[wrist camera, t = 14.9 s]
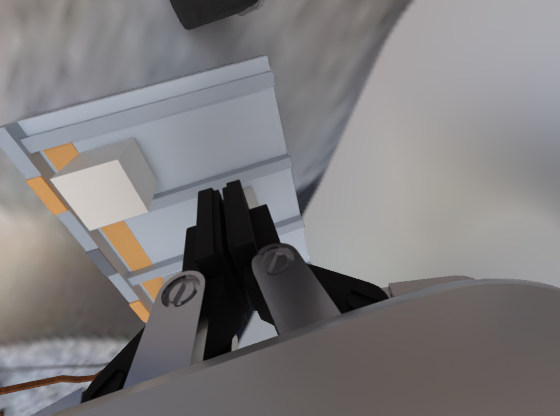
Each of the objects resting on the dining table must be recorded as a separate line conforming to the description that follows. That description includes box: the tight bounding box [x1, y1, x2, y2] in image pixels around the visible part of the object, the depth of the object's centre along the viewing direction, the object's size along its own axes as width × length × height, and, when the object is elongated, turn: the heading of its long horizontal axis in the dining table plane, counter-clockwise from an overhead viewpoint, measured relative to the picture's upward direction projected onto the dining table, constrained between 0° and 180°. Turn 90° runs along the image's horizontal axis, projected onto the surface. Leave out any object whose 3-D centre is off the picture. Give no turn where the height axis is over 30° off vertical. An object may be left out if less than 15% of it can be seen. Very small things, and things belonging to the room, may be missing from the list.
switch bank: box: [0, 55, 312, 323], centre depth 26 cm, size 19×24×4 cm
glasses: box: [0, 370, 102, 416], centre depth 33 cm, size 13×13×5 cm
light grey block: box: [50, 137, 158, 231], centre depth 19 cm, size 4×4×5 cm
